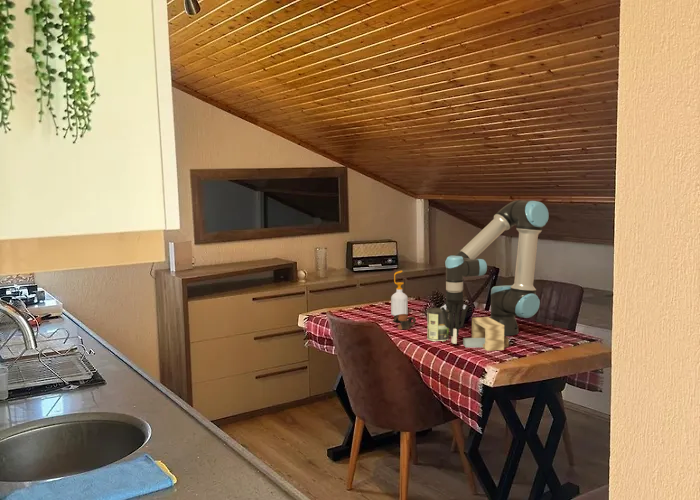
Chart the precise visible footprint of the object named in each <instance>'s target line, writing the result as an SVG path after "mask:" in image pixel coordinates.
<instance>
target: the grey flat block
mask: <svg viewBox="0 0 700 500" xmlns="http://www.w3.org/2000/svg"><path fill="white" fill-rule="evenodd" d="M462 344H463V346H464V347H465V348H483V344H485V338H472V337H463V338H462Z"/></svg>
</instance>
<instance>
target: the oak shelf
mask: <svg viewBox="0 0 700 500" xmlns="http://www.w3.org/2000/svg"><path fill="white" fill-rule="evenodd" d="M471 338H485V344H483V347H482V349H483V350H484V351H487V352H492V351H504V350H505V349H506V348H509V346H510V345H509V341H510V339H509V337H508V336H504V325H503V324H501V323H499V322H497V321H495V320H493V319H491V318H490V317H489V316H482V317H481V316H480V317H471Z"/></svg>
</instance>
